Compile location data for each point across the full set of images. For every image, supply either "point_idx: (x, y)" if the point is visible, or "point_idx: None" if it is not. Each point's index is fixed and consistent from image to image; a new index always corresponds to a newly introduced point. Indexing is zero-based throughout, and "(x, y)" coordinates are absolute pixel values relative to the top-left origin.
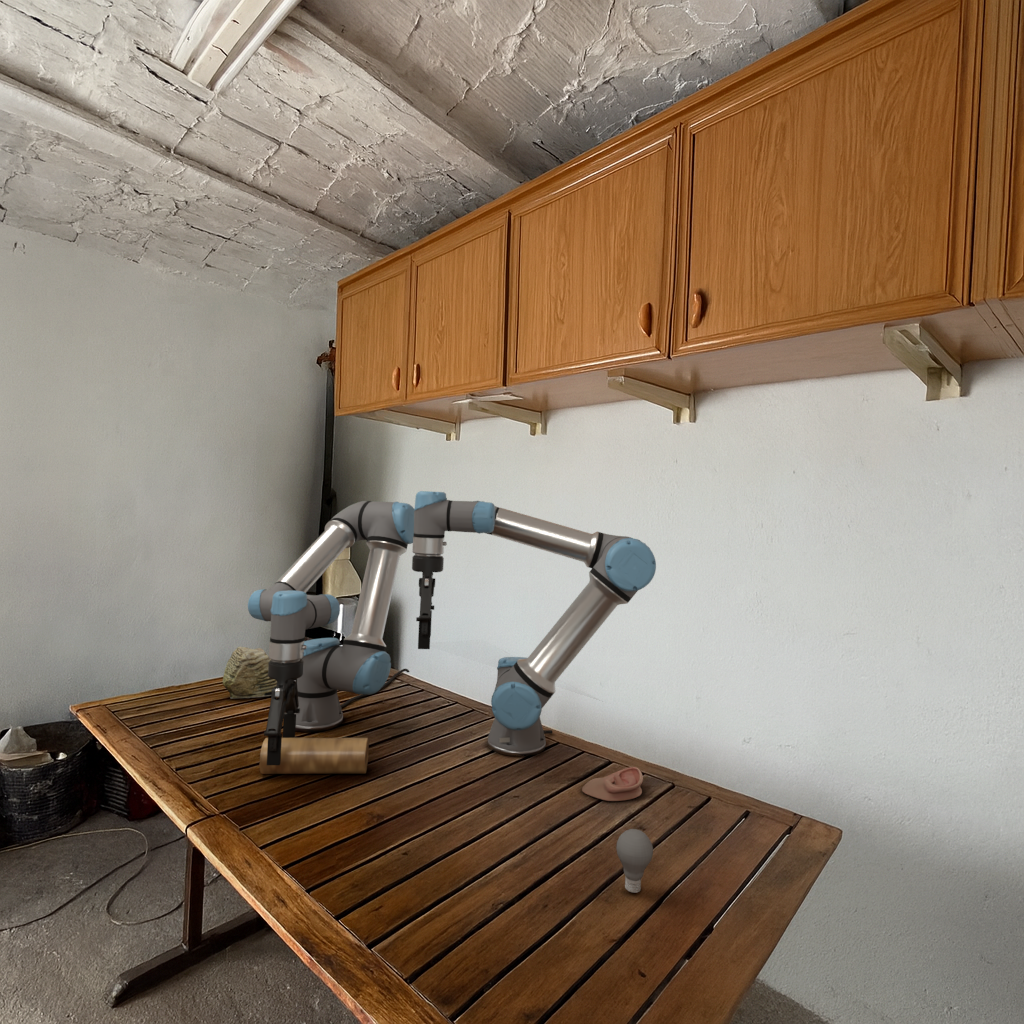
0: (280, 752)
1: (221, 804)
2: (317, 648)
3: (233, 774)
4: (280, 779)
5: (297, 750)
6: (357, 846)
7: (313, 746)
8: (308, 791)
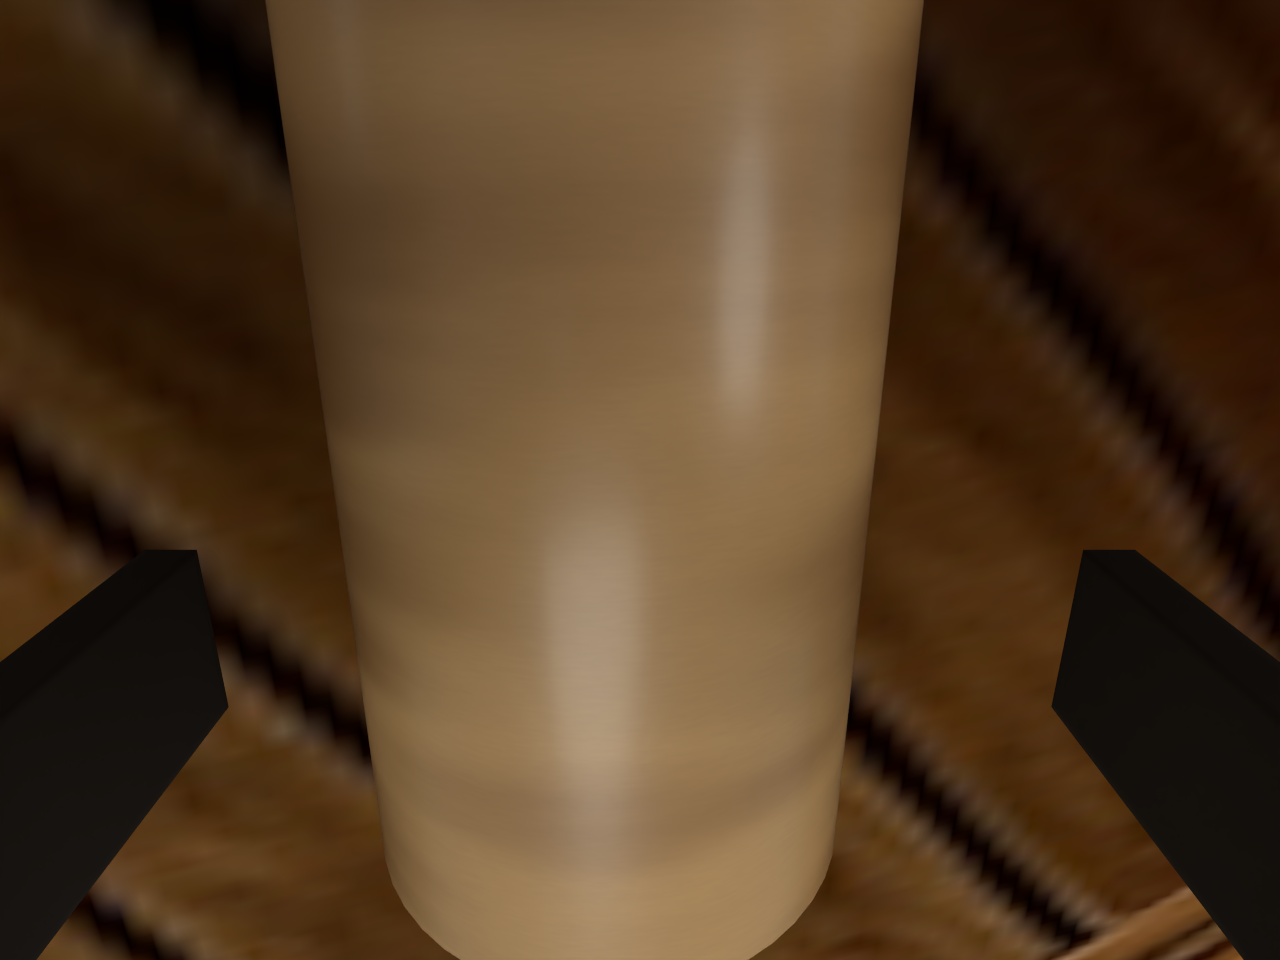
0: (1236, 649)
1: None
2: None
3: None
4: None
5: (856, 396)
6: None
7: (839, 76)
8: (1158, 73)
